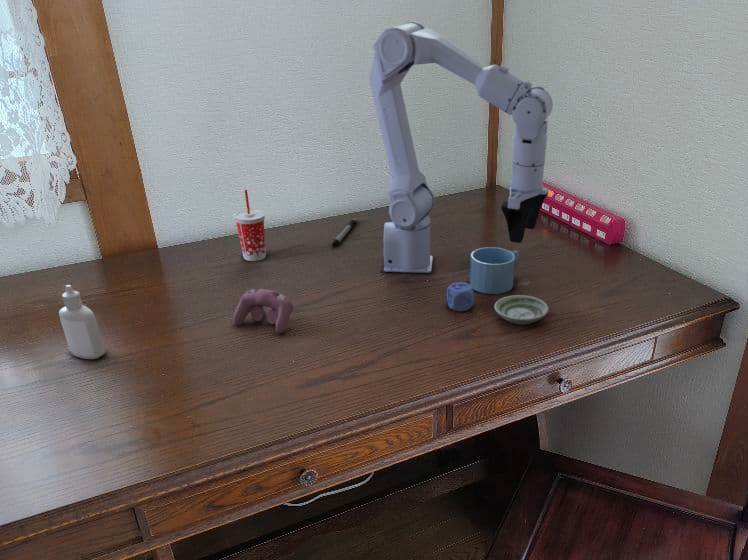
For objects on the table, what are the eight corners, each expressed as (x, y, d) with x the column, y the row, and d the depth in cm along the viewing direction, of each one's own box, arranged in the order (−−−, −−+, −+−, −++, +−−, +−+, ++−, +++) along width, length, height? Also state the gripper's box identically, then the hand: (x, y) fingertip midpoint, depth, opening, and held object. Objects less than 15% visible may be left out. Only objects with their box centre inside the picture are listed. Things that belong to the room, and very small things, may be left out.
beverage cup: (276, 255, 153) (268, 188, 145) (254, 264, 149) (245, 197, 141) (254, 248, 156) (245, 183, 148) (233, 258, 151) (223, 191, 144)
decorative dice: (473, 310, 134) (474, 290, 132) (452, 312, 133) (453, 292, 131) (466, 300, 137) (467, 281, 135) (446, 303, 136) (446, 283, 134)
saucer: (517, 301, 137) (518, 289, 136) (558, 319, 132) (559, 307, 130) (482, 317, 132) (483, 305, 130) (523, 336, 126) (524, 324, 125)
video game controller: (293, 334, 128) (298, 294, 127) (280, 334, 124) (285, 293, 123) (244, 324, 131) (248, 285, 130) (229, 324, 127) (234, 284, 125)
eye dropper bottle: (80, 365, 116) (59, 296, 109) (68, 351, 119) (47, 283, 112) (108, 356, 118) (89, 288, 111) (95, 342, 122) (76, 276, 115)
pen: (331, 247, 157) (331, 241, 156) (353, 220, 170) (353, 215, 170) (337, 247, 157) (336, 242, 156) (359, 221, 170) (359, 215, 170)
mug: (492, 298, 138) (493, 268, 135) (460, 283, 143) (461, 254, 140) (531, 281, 145) (534, 252, 141) (500, 268, 150) (502, 240, 146)
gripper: (537, 176, 124) (530, 251, 132) (561, 154, 135) (553, 225, 143) (498, 170, 126) (494, 245, 134) (524, 149, 138) (519, 219, 145)
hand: (522, 234), depth 139 cm, fingers open, 7 cm apart
